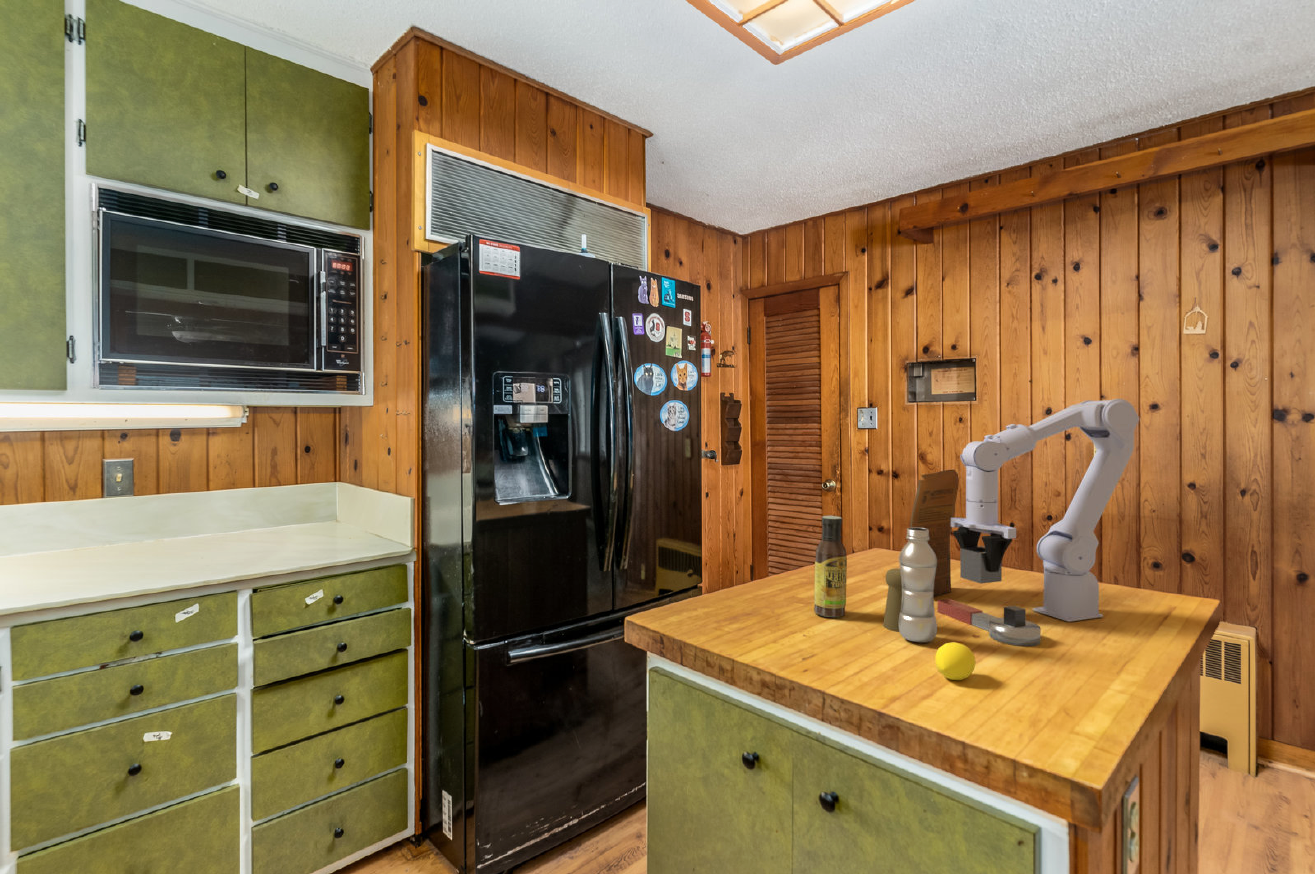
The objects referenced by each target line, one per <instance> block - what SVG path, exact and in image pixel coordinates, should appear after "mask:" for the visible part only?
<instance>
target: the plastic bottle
mask: <svg viewBox="0 0 1315 874" xmlns="http://www.w3.org/2000/svg"><path fill="white" fill-rule="evenodd" d="M905 537H906V538H905V539H906V540H907V543H905V544H904V546H903V547H902V549H901V551H899V555H898V563H899V565H898V566H899V569H900V572H901V582H902V601H901V612H900V615H899V622H898V626H899V632H898V633H900V635H901V637H902V638H903V639H906V640H907V641H911V642H914V643H930V642H932V641H933V640H934V639H935V638H936V636H937V631H938V624H937V618H936V613H935V612H936V611H935V600H934V597H933V594H934V591H933V590H934V579H935V573H936V566H937V558H936V555H935V553H934V551H933V550H932V548H931V547H930V546H929V544H928V540H929V531H928V529H926V528H918V527H911V528H910V527H907V528H906V536H905Z"/></svg>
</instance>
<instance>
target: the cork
mask: <svg viewBox="0 0 1315 874" xmlns="http://www.w3.org/2000/svg"><path fill="white" fill-rule="evenodd" d="M885 583H886V584H887V586H888V589H887V597H886V603H885V609H884V616H883V624H882V626H883V628H885V629H886V628H887V630H888V631H893V632H897V633H900V632H899V626H898V622H899V615H900V612H901V601H902V582H901V572H900V568H892V569H891V568H890V569H888V570H887V571H886V573H885Z"/></svg>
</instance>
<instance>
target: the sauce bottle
mask: <svg viewBox="0 0 1315 874" xmlns="http://www.w3.org/2000/svg"><path fill="white" fill-rule="evenodd" d="M821 525H822V528H821V529H822V531H821V540H820V541H819V543H818V544H817V546H816V549H815V561H814V594H813V604H814V607H813V608H814V613H815V614H817V615H819V616H821V617H825V618H840V617H843V616H845V615H846V606H847V568H848V567H847V565H848V557H847V549H846V547H845V546H844V544H843V542H842V525H843V517H841V516H836V515H823V516H821Z"/></svg>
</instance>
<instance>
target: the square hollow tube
mask: <svg viewBox="0 0 1315 874" xmlns="http://www.w3.org/2000/svg"><path fill="white" fill-rule="evenodd" d="M959 548H960V547H959ZM1002 561H1003V560H1002ZM1002 561H1001V564H1000V568H999V571H998V572H988V569H987V556H986V550H985V546H980V545H979V546H977V547H968V548H960V562H959V563H960V566H959V567H960V578H961V579H964V580H967V581H971V582H974V583H976V584H977V583H978V584H990V583H998V582H1002V579H1003V577H1002V575H1003V574H1002V570H1003V569H1002V566H1003V565H1002Z"/></svg>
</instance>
